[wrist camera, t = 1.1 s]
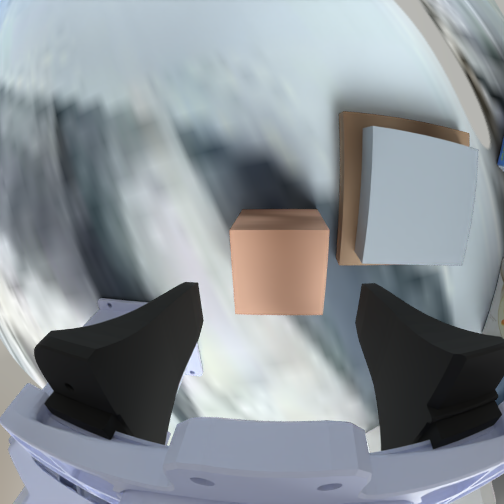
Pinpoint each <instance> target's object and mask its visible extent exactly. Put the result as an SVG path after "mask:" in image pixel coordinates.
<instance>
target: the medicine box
mask: <svg viewBox="0 0 504 504" xmlns="http://www.w3.org/2000/svg"><path fill="white" fill-rule="evenodd" d="M497 165H498V166H499V167H500V168H501V169H502V171H503V172H504V138H503V142H502V147H501V151H500V156H499V159H498V163H497Z"/></svg>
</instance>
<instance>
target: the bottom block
mask: <svg viewBox="0 0 504 504" xmlns="http://www.w3.org/2000/svg"><path fill="white" fill-rule="evenodd" d="M370 126H377V127H384V128H390V129H396V130H401V131H407V132H412V133H416V134H421V135H426V136H430V137H434V138H438V139H442V140H446V141H450V142H454V143H458V144H461V145H464V146H468V147H469V133H466V132H463V131H459V130H455V129H451V128H447V127H443V126H439V125H434V124H430V123H425V122H420V121H415V120H409V119H403V118H397V117H391V116H384V115H376V114H367V113H358V112H347V111H343V112H341V113H339V134H340V191H339V219H338V237H337V251H336V259H337V261H338V264H339V265H404V264H362V262H361V261H360V259H359V258H358V256H357V255H356V253H355V252H354V250H355V242H356V234H357V224H358V214H359V203H360V189H361V171H362V139H363V128H366V127H370Z"/></svg>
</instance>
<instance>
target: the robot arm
mask: <svg viewBox="0 0 504 504" xmlns="http://www.w3.org/2000/svg"><path fill="white" fill-rule="evenodd" d="M97 303H98V306H99V310H98V311H97V312H96V313H95V314H94V315H93V316H92V317H91V319H90V320H89V321H88V322H87V323H86V324H85V325H84V326H83V327H80V328H74V329H65V330H56V331H51V332H49V333H48V334H47V335H46V336H45V337H44V338H43V339H42V340H41V341H40V342H39V343H38V344H37V345H36V347H35V349H34V355H35V359H36V362H37V364H38V366H39V368H40V370H41V372H42V373H43V375H44V377H45V378H46V380H47V382H48V383H47V385H46V386H45V387H44V388H43V390H41V389H39V388H37V387H35V386H34V385H32V384H30V383H27V384H26V386H25V387H24V388H23V389H22V390H21V392H20V393H19V394H18V395H17V396H16V398H15V399H14V400H13V401H12V403H11V404H10V405H9V406H8V408H7V409H6V410H5V412H4V413H3V414H2V416H1V417H0V424H1V425H2V426H3V427H4V428H5V429H6V430H7V432H8V433H9V434H10V435H11V437H10V438H9V443H10V446H9V448H8V450H9V454H10V457H11V459H12V461H13V463H14V465H15V467H16V469H17V471H18V473H19V475H20V477H21V479H22V481H23V483H24V485H25V487H24V488H23V490H22V491H21V493H20V494H19V496H18V497H17V498H16V500H15V501H14V503H13V504H449V503H451V502H454V501H456V500H458V499H460V498H462V497H463V496H465V495H467V494H469V493H471V492H473V491H475V490H476V489H478V488H480V487H482V486H484V485H485V484H487V483H489V482H490V481H492V480H493V479H495V478H497V477H498V476H500V475H502V474H503V473H504V402H502V403H501V404H500V405H499V406H497V404H496V402H495V400H496V399H497V398H498V394H497V392H496V391H495V389H496V387H497V386H498V384H499V383H500V381H501V379H502V378H503V376H504V339H503V338H502V337H499V336H492V335H485V334H479V333H475V332H471V331H467V330H464V329H460V328H457V327H454V326H451V325H449V324H446V323H443V322H441V321H439V320H437V319H434V318H432V317H430V316H428V315H426V314H424V313H422V312H421V311H419V310H417V309H415V308H414V307H412V306H410V305H409V304H407V303H405V302H404V301H402V300H401V299H399V298H398V297H396V296H395V295H393V294H392V293H390V292H389V291H387V290H386V289H384V288H382V287H381V286H379V285H377V284H375V283H371V284H362V287H361V293H360V299H359V305H358V311H357V316H356V322H355V323H356V328H357V333H358V338H359V342H360V345H361V348H362V351H363V354H364V357H365V359H366V362H367V365H368V368H369V371H370V374H371V377H372V381H373V384H374V389H375V395H376V400H377V407H378V415H379V424H380V437H381V451H379V452H373V453H369V452H368V446H367V441H366V435H365V430H363V429H361V428H360V427H358V426H356V425H354V424H352V423H350V422H342V421H328V420H325V421H255V420H240V419H228V418H219V417H193V418H190V419H187V420H185V421H183V422H181V423H179V424H177V426H176V429H175V432H174V434H173V437H172V440H171V443H170V446H167V443H168V440H169V437H170V435H171V434H170V433H169V432H168V426H169V422H170V417H171V413H172V409H173V405H174V401H175V397H176V395H177V392H178V390H179V387H180V385H181V382H182V380H183V377H184V375H192V376H202V374H203V367H202V363H201V358H200V353H199V348H198V343H197V341H198V339H199V336H200V332H201V328H202V325H203V314H202V308H201V301H200V294H199V287H198V283H194V282H184V283H182V284H180V285H178V286H176V287H175V288H173V289H171V290H170V291H168V292H166V293H164V294H163V295H161V296H159V297H158V298H156V299H154V300H152V301H151V302H137V301H126V300H116V299H107V298H100V299H99V300H98V302H97ZM110 304H111V305H112V306H111V305H110Z"/></svg>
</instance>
